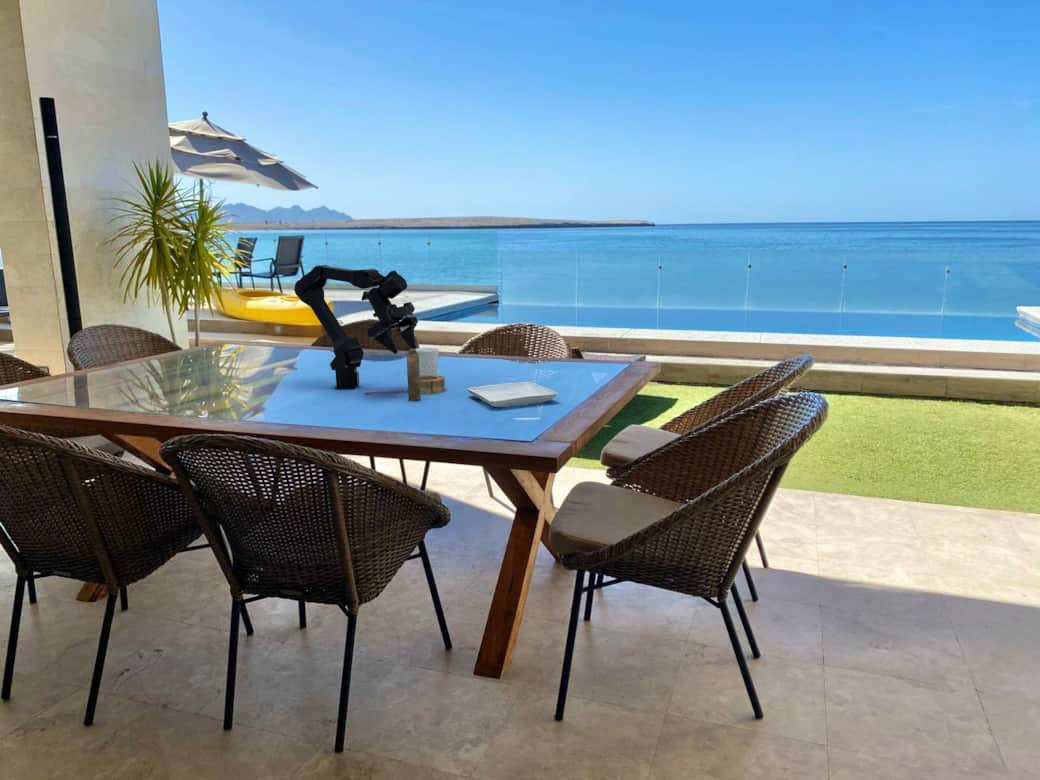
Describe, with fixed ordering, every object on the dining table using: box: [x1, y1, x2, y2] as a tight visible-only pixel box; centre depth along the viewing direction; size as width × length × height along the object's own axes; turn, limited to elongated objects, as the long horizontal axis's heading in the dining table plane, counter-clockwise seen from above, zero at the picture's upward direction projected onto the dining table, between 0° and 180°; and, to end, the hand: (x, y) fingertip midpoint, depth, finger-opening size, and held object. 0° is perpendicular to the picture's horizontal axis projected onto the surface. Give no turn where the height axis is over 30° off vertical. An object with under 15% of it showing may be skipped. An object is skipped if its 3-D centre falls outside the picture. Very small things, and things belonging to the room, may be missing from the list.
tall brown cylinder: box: [405, 348, 422, 402], centre depth 228 cm, size 4×4×15 cm
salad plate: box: [467, 381, 559, 408], centre depth 227 cm, size 21×21×3 cm
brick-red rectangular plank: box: [364, 389, 405, 395], centre depth 240 cm, size 12×1×1 cm, turn 100°
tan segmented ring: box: [420, 374, 446, 395], centre depth 242 cm, size 10×10×4 cm
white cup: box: [415, 347, 439, 376], centre depth 261 cm, size 8×8×10 cm
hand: (405, 351), depth 235 cm, fingers open, 9 cm apart
